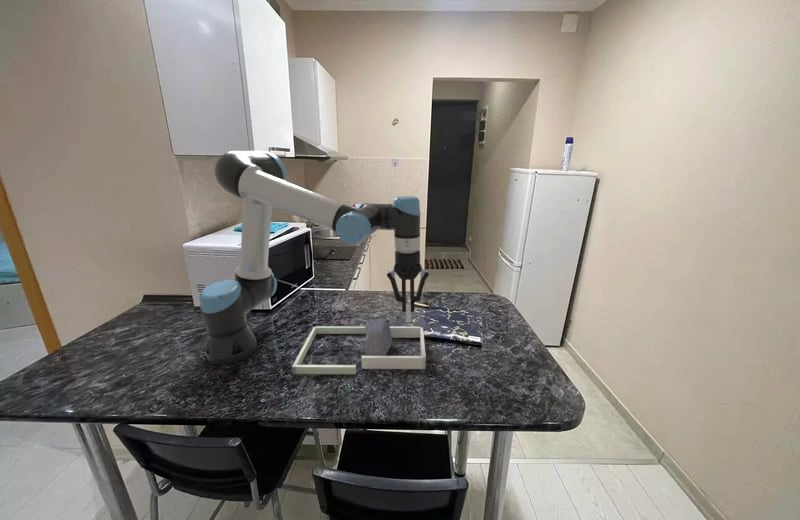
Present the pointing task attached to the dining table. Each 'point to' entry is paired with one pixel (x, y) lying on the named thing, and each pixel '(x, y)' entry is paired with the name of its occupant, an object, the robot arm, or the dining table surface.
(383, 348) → the stone
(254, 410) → the dining table surface
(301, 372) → the pale green u-shaped frame
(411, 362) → the frame
